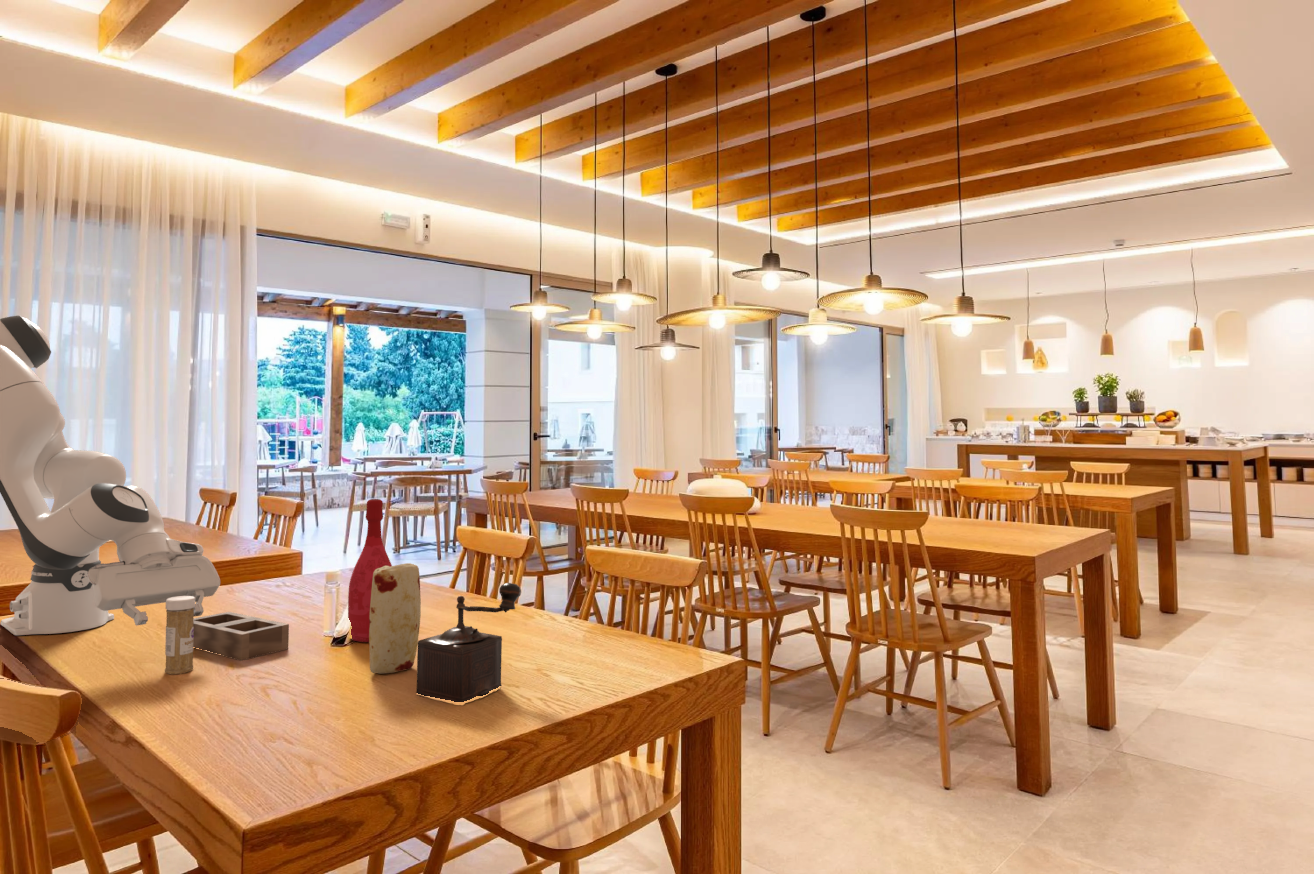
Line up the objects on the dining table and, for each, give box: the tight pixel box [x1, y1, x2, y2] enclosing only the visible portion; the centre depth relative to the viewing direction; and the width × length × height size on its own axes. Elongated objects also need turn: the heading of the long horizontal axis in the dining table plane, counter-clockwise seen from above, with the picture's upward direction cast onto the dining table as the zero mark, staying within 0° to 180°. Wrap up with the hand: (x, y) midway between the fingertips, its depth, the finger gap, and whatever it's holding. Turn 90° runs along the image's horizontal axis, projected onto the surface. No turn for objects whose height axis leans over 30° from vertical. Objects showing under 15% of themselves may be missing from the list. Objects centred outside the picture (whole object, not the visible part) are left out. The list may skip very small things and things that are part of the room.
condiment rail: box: [193, 611, 290, 661], centre depth 157 cm, size 20×10×5 cm, turn 61°
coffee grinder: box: [415, 582, 522, 702], centre depth 135 cm, size 16×11×18 cm
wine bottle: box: [347, 498, 393, 643], centre depth 167 cm, size 10×10×30 cm
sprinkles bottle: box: [164, 596, 196, 675], centre depth 141 cm, size 5×5×13 cm
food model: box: [368, 562, 422, 675], centre depth 144 cm, size 10×7×20 cm
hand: (171, 618), depth 141 cm, fingers open, 8 cm apart
